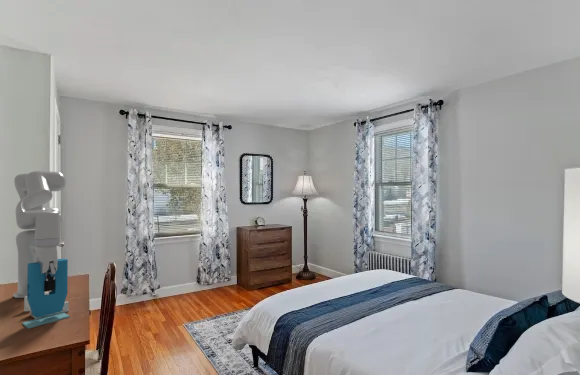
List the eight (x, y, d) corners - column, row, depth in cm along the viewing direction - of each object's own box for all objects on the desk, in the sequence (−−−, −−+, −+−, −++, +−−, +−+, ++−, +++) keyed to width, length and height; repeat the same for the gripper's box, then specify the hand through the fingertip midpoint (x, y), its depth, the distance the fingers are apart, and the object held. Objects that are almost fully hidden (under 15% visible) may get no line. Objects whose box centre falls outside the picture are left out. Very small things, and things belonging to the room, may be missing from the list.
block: (30, 319, 115) (30, 265, 116) (26, 316, 118) (26, 263, 119) (68, 309, 125) (68, 259, 125) (63, 307, 128) (63, 258, 128)
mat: (22, 323, 118) (22, 322, 118) (62, 313, 129) (62, 311, 129) (28, 328, 114) (28, 327, 114) (69, 317, 124) (69, 315, 124)
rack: (24, 311, 131) (24, 296, 131) (55, 303, 140) (55, 290, 140) (35, 319, 122) (35, 304, 122) (68, 311, 131) (68, 297, 131)
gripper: (28, 241, 124) (28, 287, 124) (42, 246, 114) (42, 296, 114) (51, 239, 130) (51, 283, 130) (66, 243, 120) (66, 290, 120)
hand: (46, 288), depth 122 cm, fingers closed on block, 5 cm apart
